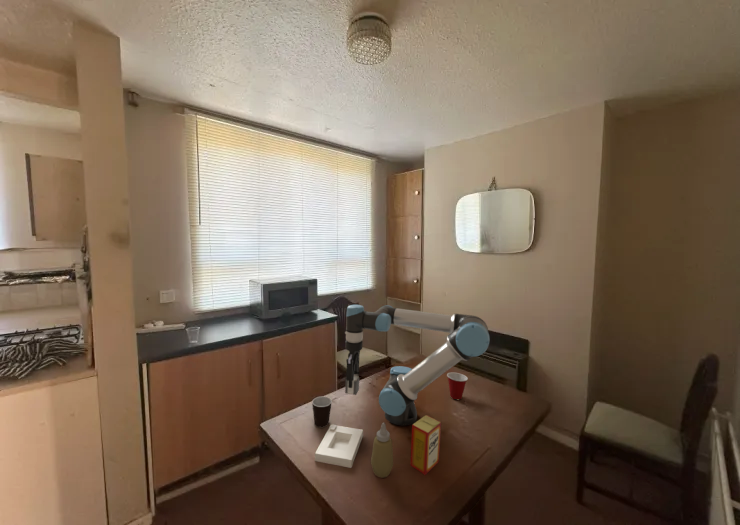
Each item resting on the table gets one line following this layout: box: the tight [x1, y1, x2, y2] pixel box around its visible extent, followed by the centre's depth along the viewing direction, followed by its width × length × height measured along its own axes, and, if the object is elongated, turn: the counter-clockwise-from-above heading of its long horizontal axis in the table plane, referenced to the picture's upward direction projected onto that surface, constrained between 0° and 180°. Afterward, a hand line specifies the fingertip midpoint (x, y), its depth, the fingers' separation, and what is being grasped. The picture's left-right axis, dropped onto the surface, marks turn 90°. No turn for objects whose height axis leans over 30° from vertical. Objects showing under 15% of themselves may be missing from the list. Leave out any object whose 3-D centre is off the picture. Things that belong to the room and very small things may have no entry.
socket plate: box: [314, 424, 364, 469], centre depth 119 cm, size 14×18×4 cm
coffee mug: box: [311, 395, 333, 428], centre depth 136 cm, size 12×9×10 cm
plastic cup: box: [446, 372, 468, 400], centre depth 161 cm, size 11×11×12 cm
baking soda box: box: [409, 414, 442, 476], centre depth 112 cm, size 10×6×16 cm
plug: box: [344, 375, 360, 396], centre depth 135 cm, size 5×4×7 cm
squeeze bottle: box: [370, 422, 394, 479], centre depth 107 cm, size 8×8×18 cm
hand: (352, 390), depth 135 cm, fingers closed on plug, 4 cm apart
